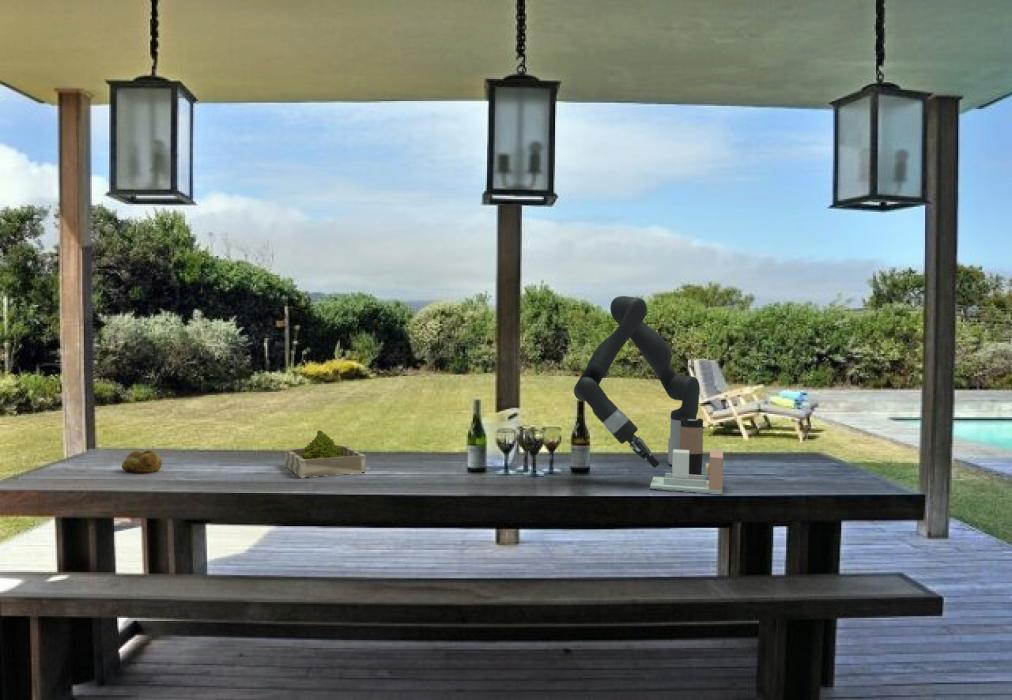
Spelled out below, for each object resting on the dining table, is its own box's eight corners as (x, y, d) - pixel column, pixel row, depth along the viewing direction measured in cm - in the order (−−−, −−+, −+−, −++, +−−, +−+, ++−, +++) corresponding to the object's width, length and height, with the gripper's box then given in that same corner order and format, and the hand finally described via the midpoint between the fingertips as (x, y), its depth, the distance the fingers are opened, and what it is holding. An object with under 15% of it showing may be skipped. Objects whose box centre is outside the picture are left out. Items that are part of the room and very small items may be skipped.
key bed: (650, 490, 249) (650, 453, 249) (653, 481, 263) (654, 446, 262) (722, 495, 243) (723, 458, 243) (721, 485, 257) (722, 450, 256)
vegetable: (293, 464, 264) (305, 424, 272) (296, 480, 277) (307, 441, 285) (337, 472, 265) (348, 432, 273) (338, 488, 278) (348, 449, 286)
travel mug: (685, 480, 265) (687, 420, 264) (675, 475, 272) (676, 417, 272) (706, 479, 267) (707, 420, 266) (695, 474, 275) (696, 417, 274)
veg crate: (285, 466, 280) (285, 449, 279) (345, 461, 290) (345, 445, 290) (300, 478, 259) (300, 460, 259) (365, 473, 270) (365, 455, 270)
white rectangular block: (671, 483, 251) (672, 452, 251) (672, 479, 257) (673, 449, 257) (688, 484, 250) (688, 453, 249) (688, 480, 256) (689, 450, 255)
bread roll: (115, 473, 265) (115, 449, 264) (134, 467, 274) (133, 445, 274) (150, 475, 262) (150, 451, 262) (167, 469, 272) (167, 446, 272)
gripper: (626, 420, 250) (664, 461, 248) (630, 416, 263) (666, 454, 260) (609, 436, 252) (647, 477, 249) (614, 431, 265) (650, 469, 262)
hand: (657, 465), depth 255 cm, fingers closed
